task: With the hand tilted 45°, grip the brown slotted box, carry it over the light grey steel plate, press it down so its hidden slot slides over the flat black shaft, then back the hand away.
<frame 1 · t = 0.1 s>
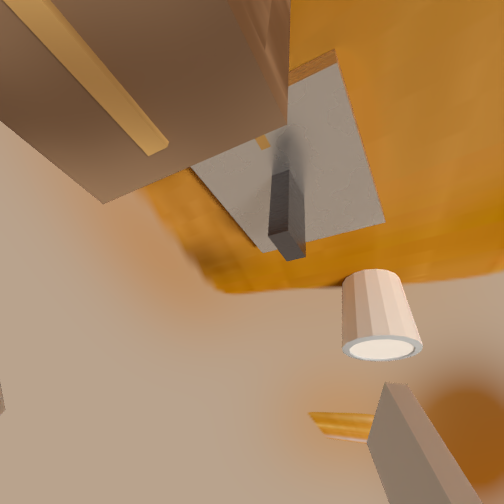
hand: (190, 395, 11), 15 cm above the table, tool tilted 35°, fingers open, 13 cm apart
grey stand base: (288, 171, 22), on the table
white cup: (370, 282, 33), on the table
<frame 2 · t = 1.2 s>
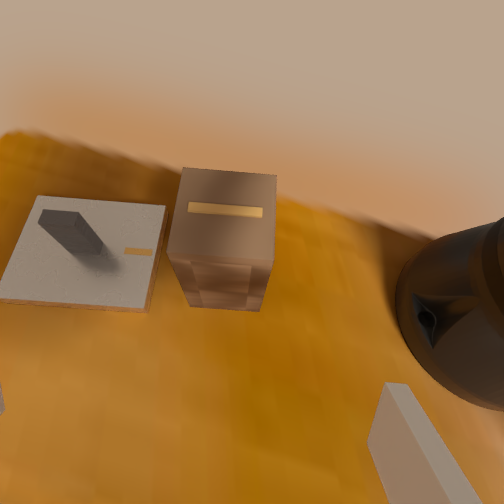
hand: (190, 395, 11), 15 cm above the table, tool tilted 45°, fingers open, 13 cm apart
grey stand base: (93, 255, 29), on the table
brown slotted box: (228, 277, 29), on the table
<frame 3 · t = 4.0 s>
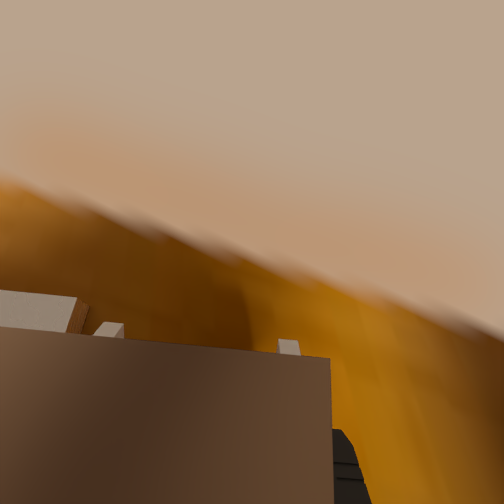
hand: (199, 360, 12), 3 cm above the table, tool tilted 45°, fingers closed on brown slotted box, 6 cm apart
brown slotted box: (193, 455, 14), on the table, touching gripper
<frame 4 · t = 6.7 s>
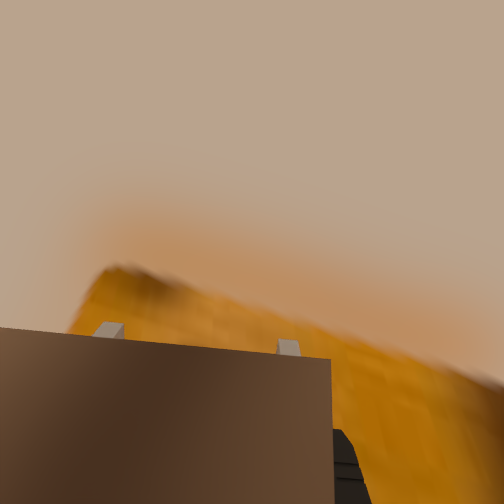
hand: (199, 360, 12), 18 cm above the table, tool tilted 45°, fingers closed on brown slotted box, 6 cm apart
brown slotted box: (192, 456, 14), point 15 cm above the table, touching gripper
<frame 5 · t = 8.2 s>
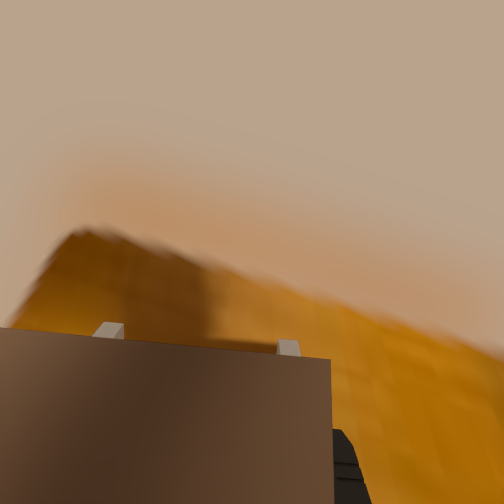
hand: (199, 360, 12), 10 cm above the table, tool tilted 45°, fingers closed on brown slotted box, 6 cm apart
brown slotted box: (192, 456, 14), point 7 cm above the table, touching gripper
when the fingers open (5 cm above the table, at t = 9.5 s): brown slotted box stays where it is, resting on grey stand base.
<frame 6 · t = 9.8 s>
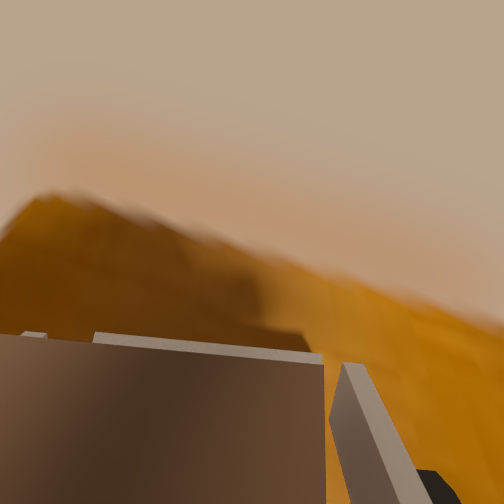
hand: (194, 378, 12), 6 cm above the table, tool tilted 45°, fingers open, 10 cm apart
grey stand base: (196, 450, 16), on the table
brown slotted box: (194, 455, 14), point 1 cm above the table, touching grey stand base
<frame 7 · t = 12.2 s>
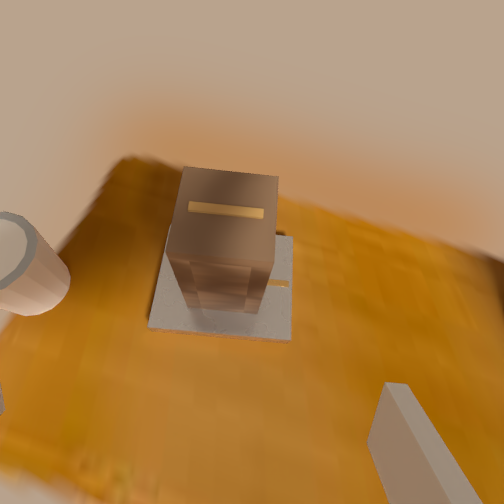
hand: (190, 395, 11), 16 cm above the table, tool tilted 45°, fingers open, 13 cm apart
grey stand base: (226, 283, 30), on the table
white cup: (38, 286, 29), on the table
brown slotted box: (226, 278, 28), point 1 cm above the table, touching grey stand base
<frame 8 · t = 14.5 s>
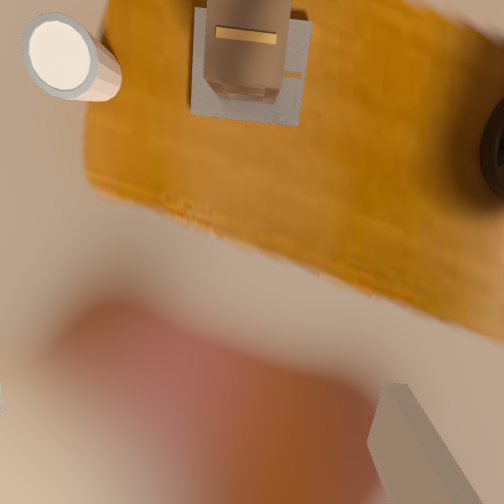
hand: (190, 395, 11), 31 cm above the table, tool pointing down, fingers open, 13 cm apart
grey stand base: (249, 73, 35), on the table
white cup: (97, 74, 35), on the table
brown slotted box: (249, 70, 33), point 1 cm above the table, touching grey stand base
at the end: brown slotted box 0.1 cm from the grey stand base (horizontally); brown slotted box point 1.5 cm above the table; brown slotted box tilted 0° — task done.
